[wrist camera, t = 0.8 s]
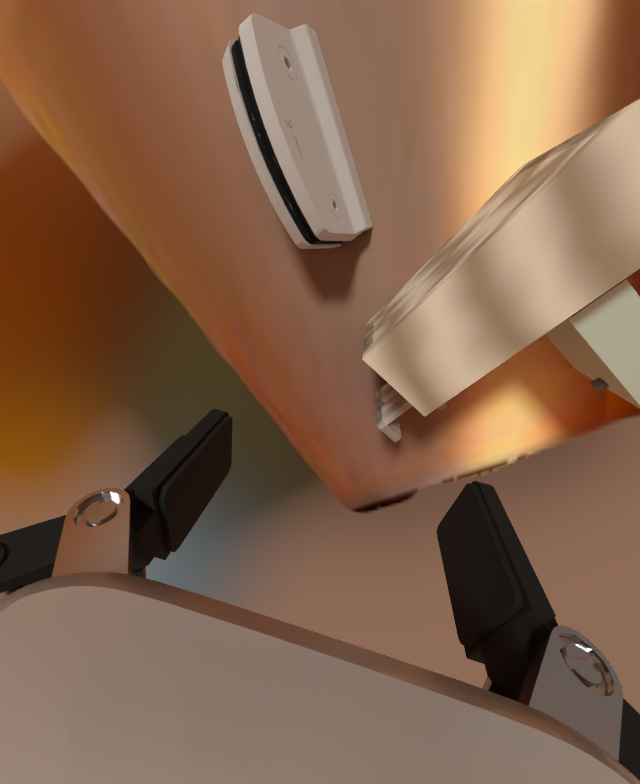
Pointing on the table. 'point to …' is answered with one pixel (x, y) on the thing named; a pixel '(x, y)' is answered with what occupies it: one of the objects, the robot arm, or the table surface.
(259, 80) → the white electronic device
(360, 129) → the table surface
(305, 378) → the table surface
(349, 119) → the table surface
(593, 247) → the cabinet
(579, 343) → the pale white box
